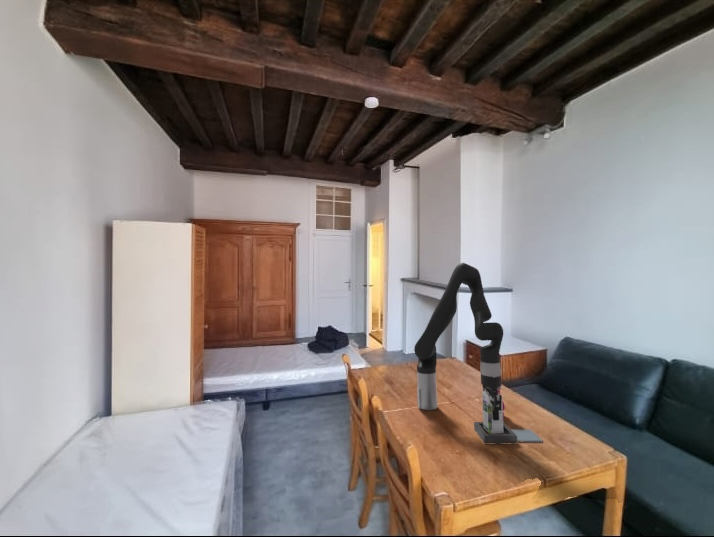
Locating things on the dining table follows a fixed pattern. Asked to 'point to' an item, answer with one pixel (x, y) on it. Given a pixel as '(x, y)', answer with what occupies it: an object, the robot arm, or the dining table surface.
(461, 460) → the dining table surface
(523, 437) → the slate mat
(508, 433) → the iron collar
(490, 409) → the syrup box
